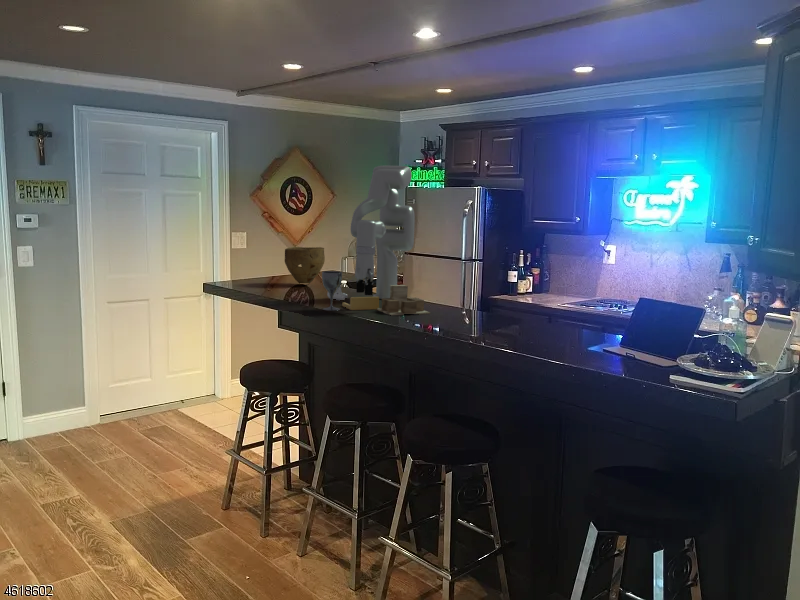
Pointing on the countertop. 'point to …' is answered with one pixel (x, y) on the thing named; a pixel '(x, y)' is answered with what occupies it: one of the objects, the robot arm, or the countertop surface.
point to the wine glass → (331, 285)
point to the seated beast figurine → (338, 295)
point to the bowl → (304, 262)
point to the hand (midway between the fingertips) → (364, 293)
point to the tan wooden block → (362, 303)
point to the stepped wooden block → (401, 302)
